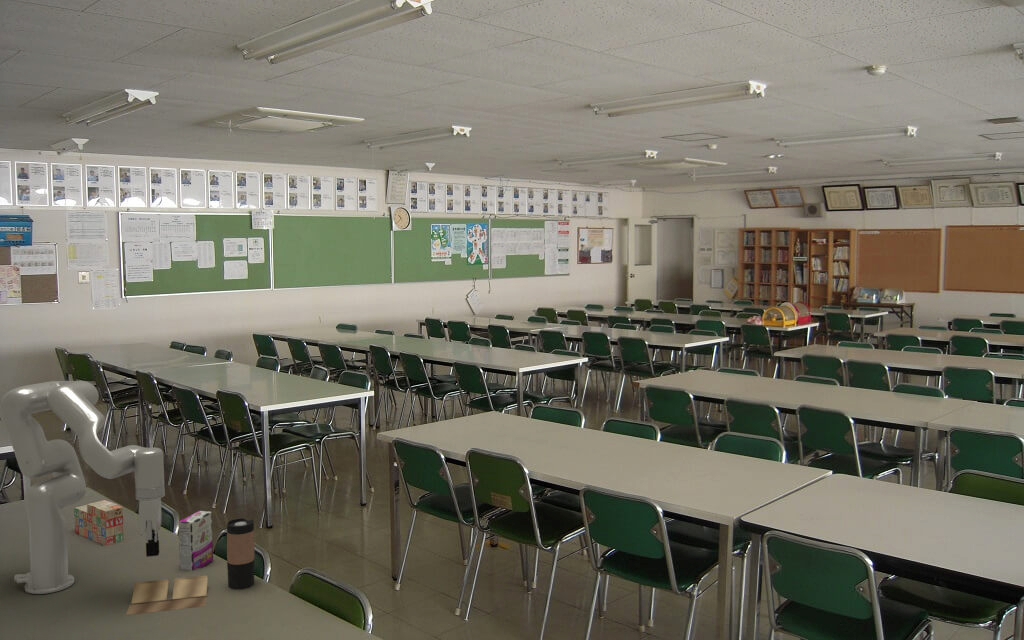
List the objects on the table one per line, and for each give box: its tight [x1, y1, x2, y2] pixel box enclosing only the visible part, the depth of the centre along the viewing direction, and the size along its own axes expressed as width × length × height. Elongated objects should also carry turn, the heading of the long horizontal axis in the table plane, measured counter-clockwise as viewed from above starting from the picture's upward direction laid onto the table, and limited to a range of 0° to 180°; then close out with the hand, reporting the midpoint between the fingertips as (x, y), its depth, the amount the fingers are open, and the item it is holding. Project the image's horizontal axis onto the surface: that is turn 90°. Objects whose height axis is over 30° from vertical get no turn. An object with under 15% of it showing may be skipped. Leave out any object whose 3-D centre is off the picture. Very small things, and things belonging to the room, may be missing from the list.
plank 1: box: [130, 579, 170, 604], centre depth 222 cm, size 9×7×1 cm
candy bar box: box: [177, 510, 214, 571], centre depth 246 cm, size 11×5×16 cm, turn 168°
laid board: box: [125, 595, 208, 616], centre depth 217 cm, size 20×7×1 cm, turn 107°
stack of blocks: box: [73, 499, 124, 547], centre depth 272 cm, size 21×6×12 cm, turn 55°
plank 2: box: [172, 574, 209, 599], centre depth 225 cm, size 9×7×1 cm
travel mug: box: [226, 517, 256, 590], centre depth 231 cm, size 8×8×20 cm
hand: (152, 555), depth 223 cm, fingers closed
